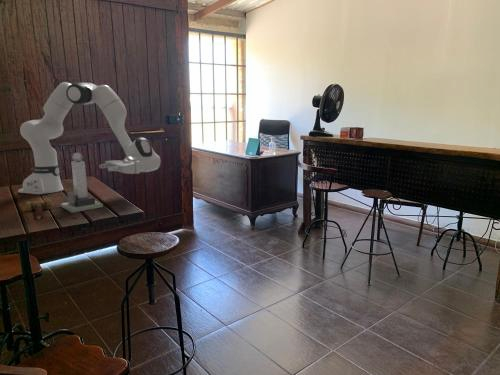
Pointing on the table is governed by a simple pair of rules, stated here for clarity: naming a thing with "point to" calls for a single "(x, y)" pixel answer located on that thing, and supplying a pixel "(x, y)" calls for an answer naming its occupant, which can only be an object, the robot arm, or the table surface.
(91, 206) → the keeper bracket
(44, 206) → the gavel
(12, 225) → the table surface
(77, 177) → the steel link
